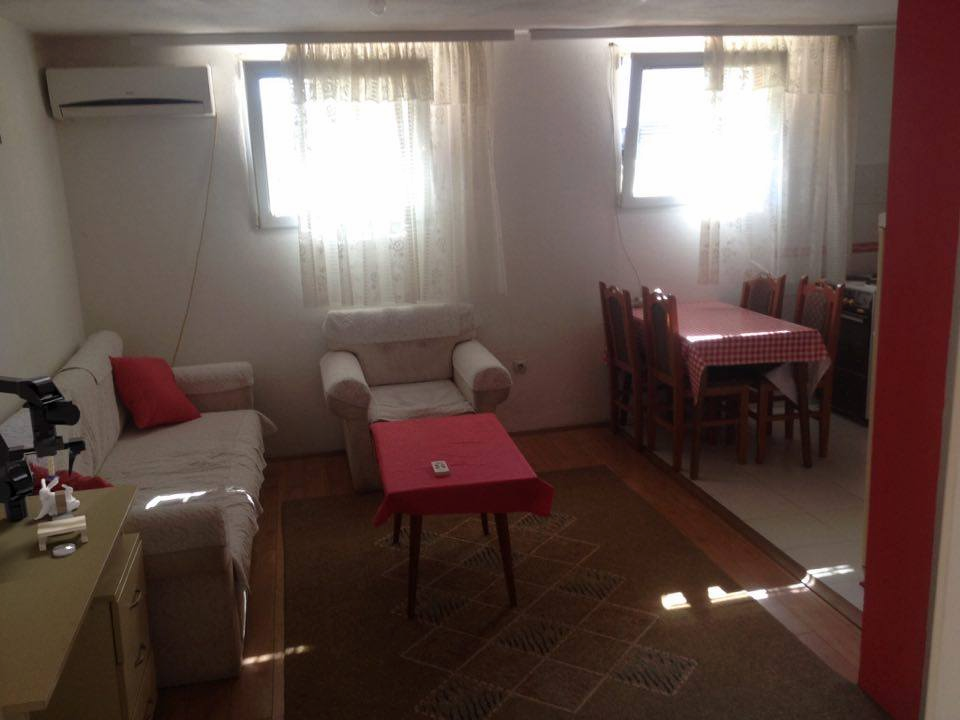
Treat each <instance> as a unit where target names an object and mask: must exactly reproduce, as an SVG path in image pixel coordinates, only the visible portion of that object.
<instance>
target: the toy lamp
mask: <svg viewBox="0 0 960 720" xmlns="http://www.w3.org/2000/svg"><path fill="white" fill-rule="evenodd" d="M46 461H47V466H48V467H47V470H48V476H47V477H46V478H45V482H49V483H51V482H52V481H53V480H54V479H55V478H56V477H57V478H58V480H59V479H60V476H59V475H58V474H56V471H55V466H54V464H55V463H54V456H46Z"/></svg>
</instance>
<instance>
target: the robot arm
mask: <svg viewBox="0 0 960 720" xmlns="http://www.w3.org/2000/svg"><path fill="white" fill-rule="evenodd" d="M0 393H3V394H9V395H10V394H11V395H16V396H18V397H19V399H22V400H25V402H24V403H23V404H22V406H21V408H22V409H28V411H29V418H30V426H31V432H32V439H33V440H32V444H33V446H32V447H26V448H25V445H24V444H21V445H15V446H8V444H7V443H6V441H5V439H4V437H3V436H2V433H0V504H2V505H3V511H4V516H5V520H6V521H7V522H10V523H14V522H20V521H23V520H25V519H26V518H27V517H29V515H30V514H29V508H28V500H27V496H30V495H33V494H34V489H35V483H36V478H35V476H34V475H35V473H34V472H33V470H32V469H31V467H30V463H29V460H28V456H31V455H36V458H37V459H42V458H45V457H46V458H47V456H52V457H56V455H57V454H58V452H59V451H64V450H68V466H67V467H68V468H67V469H68V476H69V477H71V476H72V472H73V467H74V463H75V460H76V458H77V456H79V455H81V454H82V452H83V451H86V450H87V448H86V442H85V441H86V440H85V437H83V436H77V437H70V438H68V441H66V442H64V436H63V435H58V434H57V426H67V427H69V426H70V427H72V426H75V425H76V424H78V423H79V421H80V419H81V411H80V409H79V407H78V406H77V405H76V404H73V400H72V399H66V397H65V396H64V395H63V393H62V391H60V390H59V388H58V387H57V385H56V384H55V382H54V381H53V380H52V378H51V377H50V376H47V375H43V376H33V377H28V378H27V377H26V378H22V377H15V376H14V377H13V376H7V375H6V376H4V375H0Z"/></svg>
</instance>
